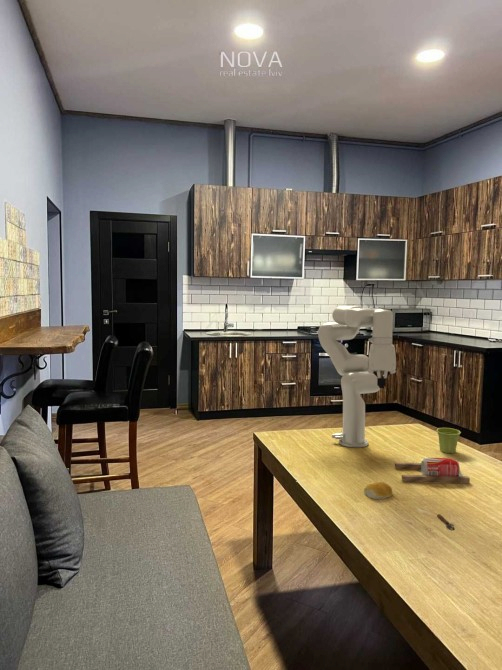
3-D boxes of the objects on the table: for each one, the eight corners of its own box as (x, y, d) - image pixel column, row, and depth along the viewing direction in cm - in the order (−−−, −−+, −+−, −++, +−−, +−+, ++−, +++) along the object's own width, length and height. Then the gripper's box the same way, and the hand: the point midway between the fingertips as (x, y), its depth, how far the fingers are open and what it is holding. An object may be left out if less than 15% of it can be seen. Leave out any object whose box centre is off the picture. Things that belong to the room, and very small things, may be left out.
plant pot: (463, 450, 214) (464, 430, 213) (454, 456, 207) (455, 435, 206) (441, 446, 221) (442, 426, 220) (432, 451, 214) (432, 431, 213)
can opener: (436, 517, 154) (436, 513, 154) (444, 517, 154) (444, 513, 154) (449, 532, 145) (449, 528, 145) (457, 531, 146) (457, 528, 145)
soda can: (419, 463, 190) (452, 463, 189) (422, 481, 185) (456, 481, 184) (423, 454, 184) (457, 454, 183) (426, 472, 180) (461, 473, 179)
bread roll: (397, 495, 170) (397, 484, 170) (378, 502, 165) (378, 490, 165) (378, 487, 177) (378, 476, 177) (359, 493, 172) (359, 482, 172)
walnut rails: (402, 482, 181) (402, 476, 181) (394, 467, 195) (394, 462, 195) (469, 483, 179) (469, 478, 179) (456, 469, 193) (456, 463, 193)
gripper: (364, 342, 196) (363, 389, 198) (403, 342, 195) (402, 390, 197) (361, 340, 204) (360, 385, 206) (399, 340, 203) (398, 386, 205)
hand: (381, 387), depth 201 cm, fingers closed
